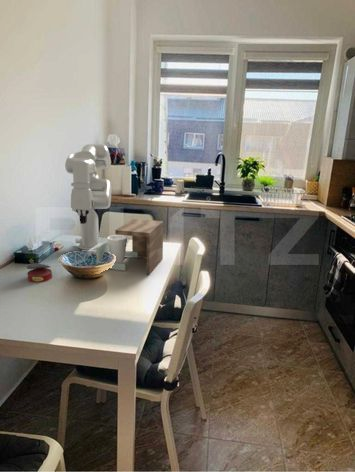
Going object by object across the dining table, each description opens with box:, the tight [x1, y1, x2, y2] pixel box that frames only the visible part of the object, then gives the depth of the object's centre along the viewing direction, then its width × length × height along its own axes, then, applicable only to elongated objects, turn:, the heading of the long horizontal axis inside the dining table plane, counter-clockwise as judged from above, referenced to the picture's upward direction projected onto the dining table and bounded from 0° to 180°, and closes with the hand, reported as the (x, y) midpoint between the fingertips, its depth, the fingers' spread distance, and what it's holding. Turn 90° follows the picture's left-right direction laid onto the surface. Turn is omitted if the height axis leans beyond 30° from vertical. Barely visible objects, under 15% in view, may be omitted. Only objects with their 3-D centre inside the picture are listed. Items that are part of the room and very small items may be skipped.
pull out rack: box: [86, 240, 139, 271], centre depth 177 cm, size 20×20×10 cm
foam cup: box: [106, 234, 128, 264], centre depth 177 cm, size 10×9×13 cm
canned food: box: [25, 262, 53, 283], centre depth 156 cm, size 11×10×10 cm
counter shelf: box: [114, 218, 164, 276], centre depth 173 cm, size 16×24×20 cm, turn 168°
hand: (83, 223), depth 177 cm, fingers closed
